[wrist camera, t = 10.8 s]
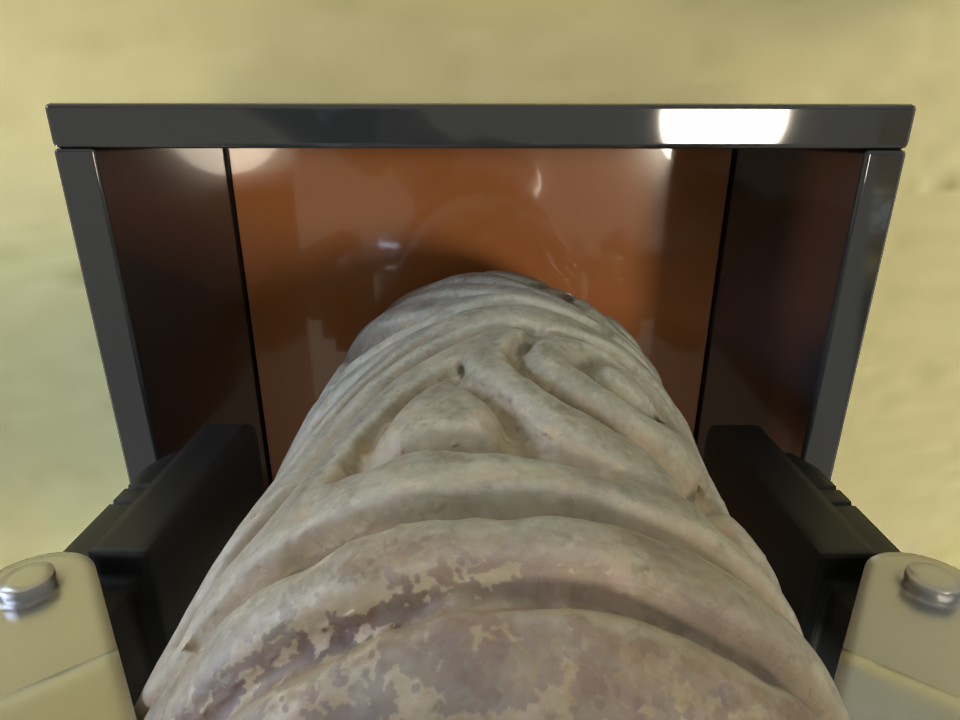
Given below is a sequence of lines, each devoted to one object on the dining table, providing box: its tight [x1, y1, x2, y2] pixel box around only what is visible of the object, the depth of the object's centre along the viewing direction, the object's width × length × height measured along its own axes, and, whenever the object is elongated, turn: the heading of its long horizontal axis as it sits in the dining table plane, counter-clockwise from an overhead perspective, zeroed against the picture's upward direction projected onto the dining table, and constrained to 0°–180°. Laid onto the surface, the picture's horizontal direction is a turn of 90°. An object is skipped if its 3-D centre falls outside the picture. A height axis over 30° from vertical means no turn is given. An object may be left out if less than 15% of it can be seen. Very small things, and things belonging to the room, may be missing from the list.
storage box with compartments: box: [45, 103, 916, 491], centre depth 15 cm, size 24×12×6 cm, turn 0°
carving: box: [134, 270, 851, 720], centre depth 10 cm, size 6×8×12 cm
